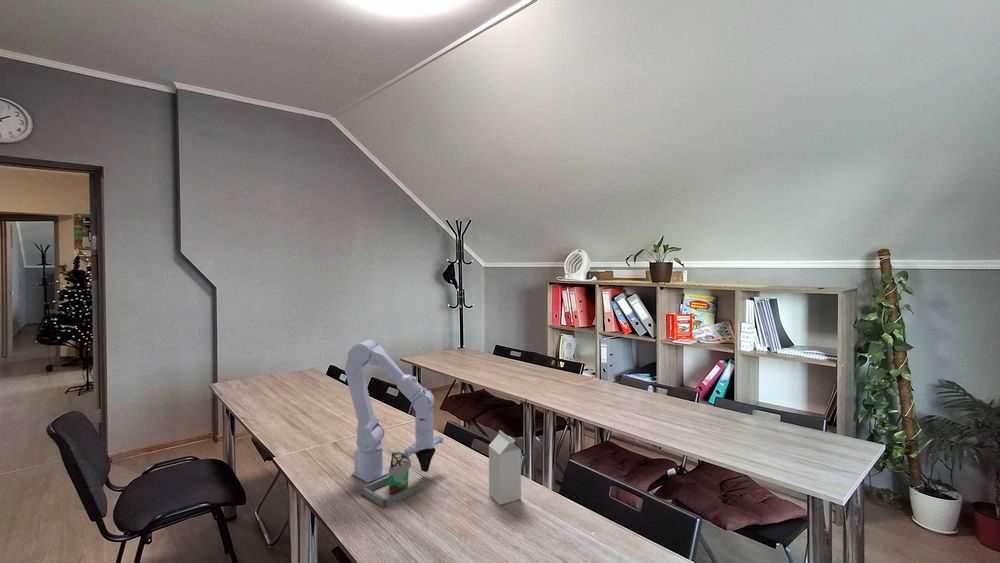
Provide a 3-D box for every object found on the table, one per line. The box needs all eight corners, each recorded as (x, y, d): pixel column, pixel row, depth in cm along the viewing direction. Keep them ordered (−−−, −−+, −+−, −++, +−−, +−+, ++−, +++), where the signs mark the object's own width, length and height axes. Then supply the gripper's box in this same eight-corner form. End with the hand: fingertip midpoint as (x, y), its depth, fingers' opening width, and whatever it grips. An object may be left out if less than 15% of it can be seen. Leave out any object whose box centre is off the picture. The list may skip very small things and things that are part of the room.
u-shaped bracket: (361, 493, 137) (361, 487, 137) (399, 477, 148) (399, 471, 147) (384, 507, 130) (384, 500, 129) (422, 489, 140) (422, 482, 140)
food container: (410, 500, 133) (410, 467, 133) (389, 502, 132) (388, 469, 132) (411, 480, 145) (411, 449, 145) (392, 482, 144) (391, 451, 144)
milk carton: (499, 505, 130) (499, 440, 129) (488, 494, 137) (488, 432, 136) (521, 499, 134) (521, 436, 133) (509, 488, 140) (509, 428, 139)
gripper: (414, 439, 139) (414, 482, 140) (449, 426, 150) (449, 466, 151) (400, 433, 144) (400, 475, 145) (435, 421, 155) (435, 460, 155)
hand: (424, 470), depth 148 cm, fingers closed
